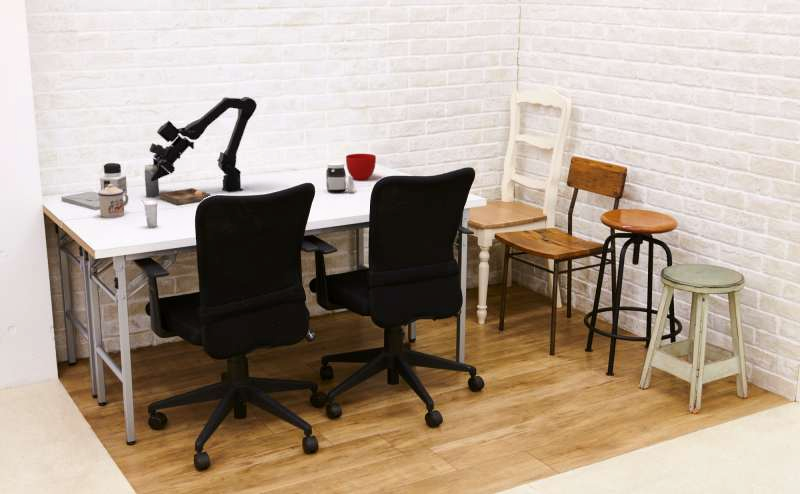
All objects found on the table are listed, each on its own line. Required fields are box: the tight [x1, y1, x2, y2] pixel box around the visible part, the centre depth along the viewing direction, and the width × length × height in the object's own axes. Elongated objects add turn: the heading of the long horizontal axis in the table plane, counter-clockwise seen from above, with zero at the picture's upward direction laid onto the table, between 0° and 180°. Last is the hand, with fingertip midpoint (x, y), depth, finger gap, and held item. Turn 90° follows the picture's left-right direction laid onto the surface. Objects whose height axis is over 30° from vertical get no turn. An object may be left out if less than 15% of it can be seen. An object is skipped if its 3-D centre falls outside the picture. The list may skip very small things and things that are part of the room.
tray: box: [159, 188, 211, 206], centre depth 411 cm, size 15×15×2 cm
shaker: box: [144, 164, 160, 199], centre depth 416 cm, size 5×5×12 cm
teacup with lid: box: [97, 184, 129, 219], centre depth 386 cm, size 12×9×12 cm
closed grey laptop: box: [61, 190, 125, 211], centre depth 407 cm, size 24×2×14 cm
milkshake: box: [141, 199, 158, 228], centre depth 369 cm, size 4×5×10 cm
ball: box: [195, 190, 203, 196], centre depth 410 cm, size 3×3×3 cm
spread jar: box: [325, 161, 356, 194], centre depth 425 cm, size 12×11×12 cm
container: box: [99, 162, 128, 195], centre depth 418 cm, size 8×8×13 cm
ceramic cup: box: [345, 153, 377, 181], centre depth 452 cm, size 13×17×10 cm
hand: (149, 178), depth 416 cm, fingers open, 9 cm apart
